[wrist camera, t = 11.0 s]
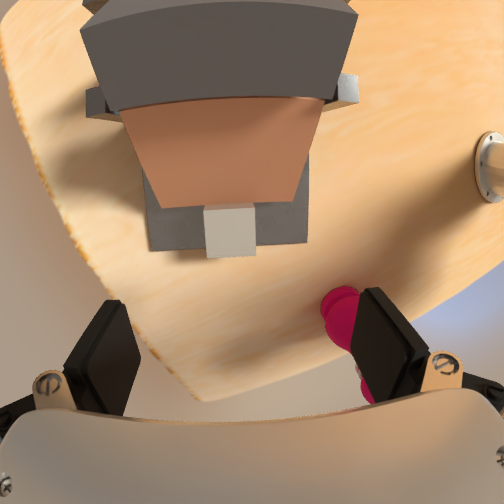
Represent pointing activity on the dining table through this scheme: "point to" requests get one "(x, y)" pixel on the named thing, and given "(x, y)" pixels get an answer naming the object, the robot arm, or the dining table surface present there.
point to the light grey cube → (230, 230)
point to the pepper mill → (343, 323)
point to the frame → (191, 217)
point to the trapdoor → (220, 90)
